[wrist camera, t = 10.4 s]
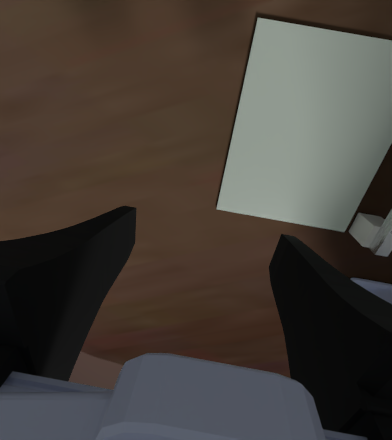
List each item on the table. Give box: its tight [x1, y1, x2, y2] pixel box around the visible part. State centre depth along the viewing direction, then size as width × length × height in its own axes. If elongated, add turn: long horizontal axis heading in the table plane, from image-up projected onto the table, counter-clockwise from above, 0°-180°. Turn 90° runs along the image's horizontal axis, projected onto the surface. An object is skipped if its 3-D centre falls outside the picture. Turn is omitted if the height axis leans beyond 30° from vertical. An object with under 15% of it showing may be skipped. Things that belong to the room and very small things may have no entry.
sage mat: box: [217, 18, 392, 232], centre depth 19 cm, size 14×12×1 cm
